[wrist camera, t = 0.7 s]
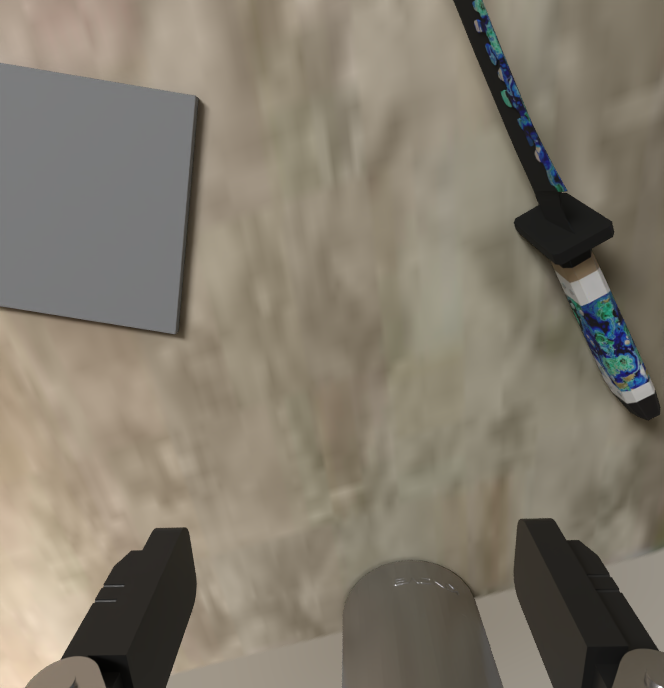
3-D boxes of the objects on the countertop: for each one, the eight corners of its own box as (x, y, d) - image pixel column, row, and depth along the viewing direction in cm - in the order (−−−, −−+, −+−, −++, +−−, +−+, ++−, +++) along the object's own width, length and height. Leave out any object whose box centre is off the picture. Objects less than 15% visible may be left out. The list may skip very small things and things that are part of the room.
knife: (627, 383, 33) (675, 417, 29) (581, 404, 33) (621, 440, 29) (433, -187, 23) (462, -265, 19) (370, -149, 24) (384, -216, 19)
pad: (178, 331, 32) (175, 334, 31) (-40, 296, 31) (-47, 298, 31) (198, 98, 28) (195, 95, 28) (-46, 56, 28) (-54, 53, 27)
